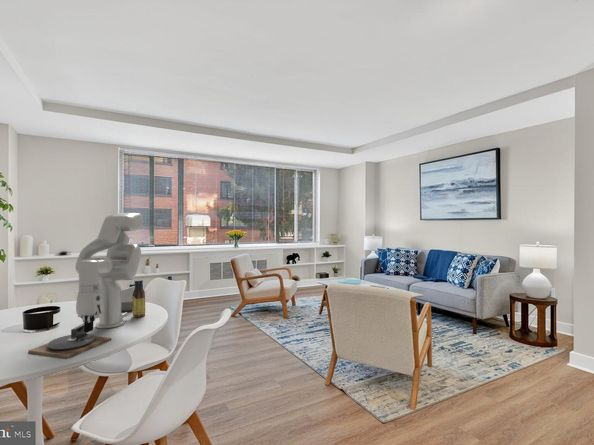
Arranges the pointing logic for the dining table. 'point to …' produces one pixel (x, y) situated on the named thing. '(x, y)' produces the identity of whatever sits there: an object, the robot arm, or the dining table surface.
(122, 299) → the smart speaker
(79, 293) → the robot arm
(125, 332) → the dining table surface
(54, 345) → the dial
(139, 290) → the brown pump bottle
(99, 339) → the dial base plate
